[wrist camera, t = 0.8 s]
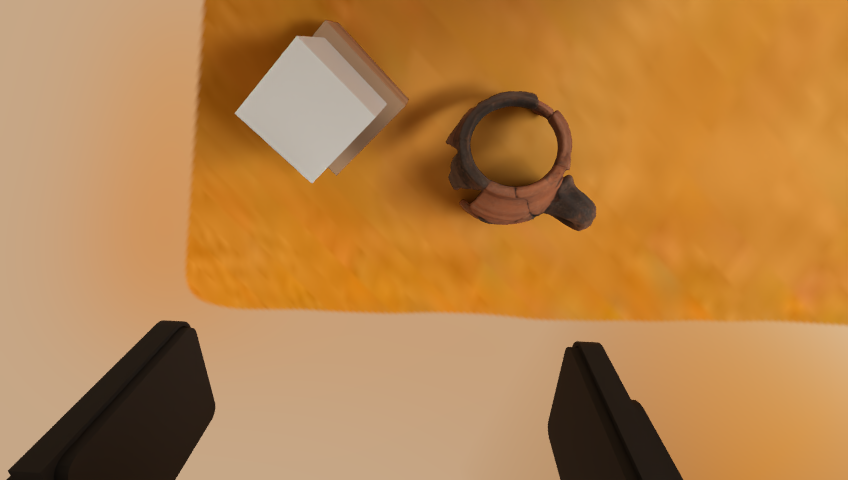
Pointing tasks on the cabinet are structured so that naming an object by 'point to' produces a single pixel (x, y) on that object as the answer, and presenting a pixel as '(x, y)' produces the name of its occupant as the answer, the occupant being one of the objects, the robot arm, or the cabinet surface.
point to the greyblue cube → (310, 105)
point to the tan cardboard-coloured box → (373, 77)
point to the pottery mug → (522, 201)
